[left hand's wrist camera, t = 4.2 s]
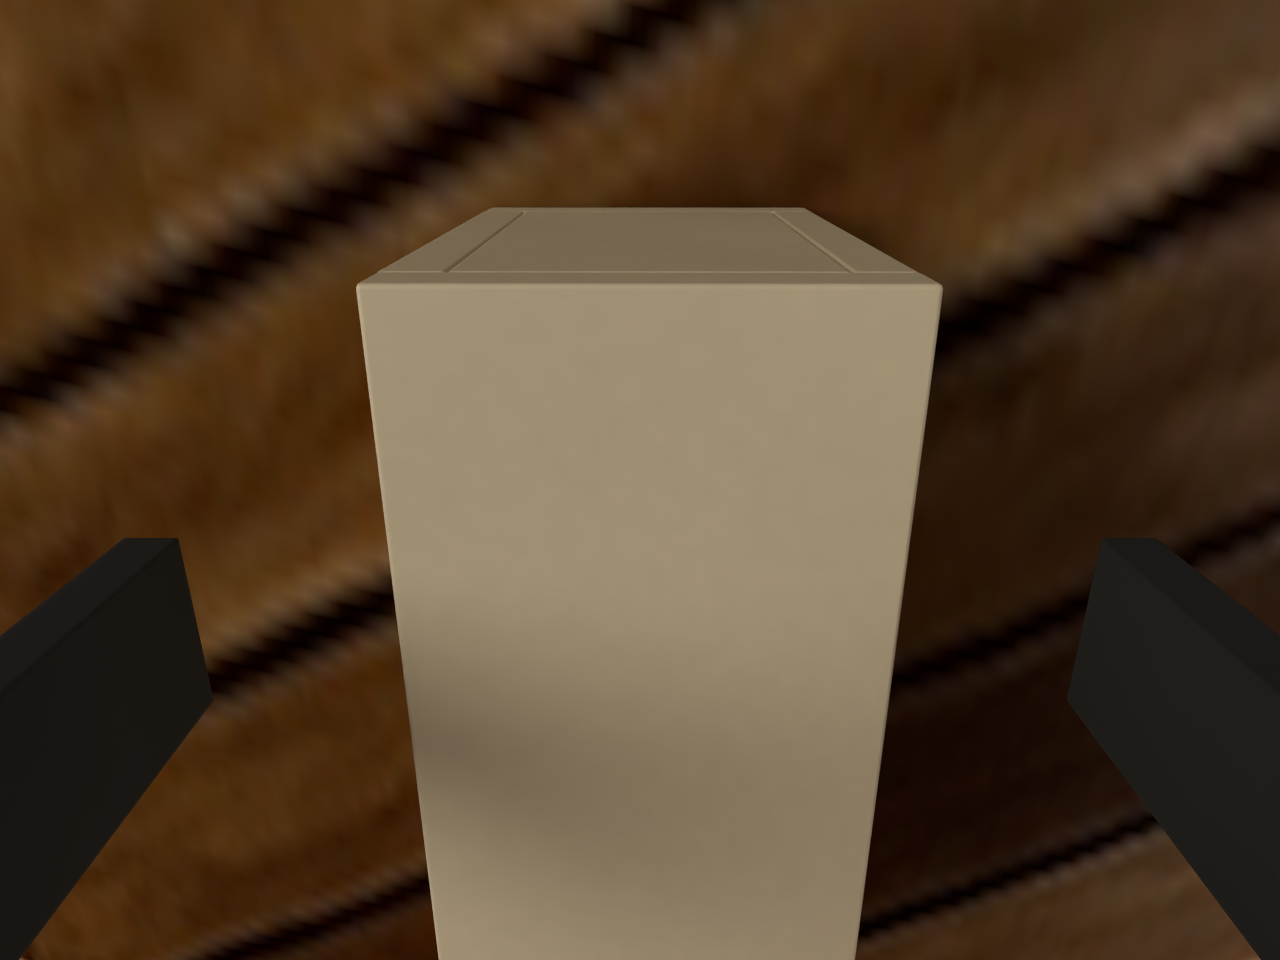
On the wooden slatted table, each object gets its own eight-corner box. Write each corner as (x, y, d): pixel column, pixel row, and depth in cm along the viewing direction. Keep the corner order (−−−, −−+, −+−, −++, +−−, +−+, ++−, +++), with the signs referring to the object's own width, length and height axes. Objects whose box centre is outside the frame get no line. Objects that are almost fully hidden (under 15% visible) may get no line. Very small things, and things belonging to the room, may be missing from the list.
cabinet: (755, 940, 27) (807, 1331, 18) (535, 939, 27) (483, 1329, 18) (806, 207, 18) (946, 284, 10) (489, 207, 19) (353, 283, 10)
